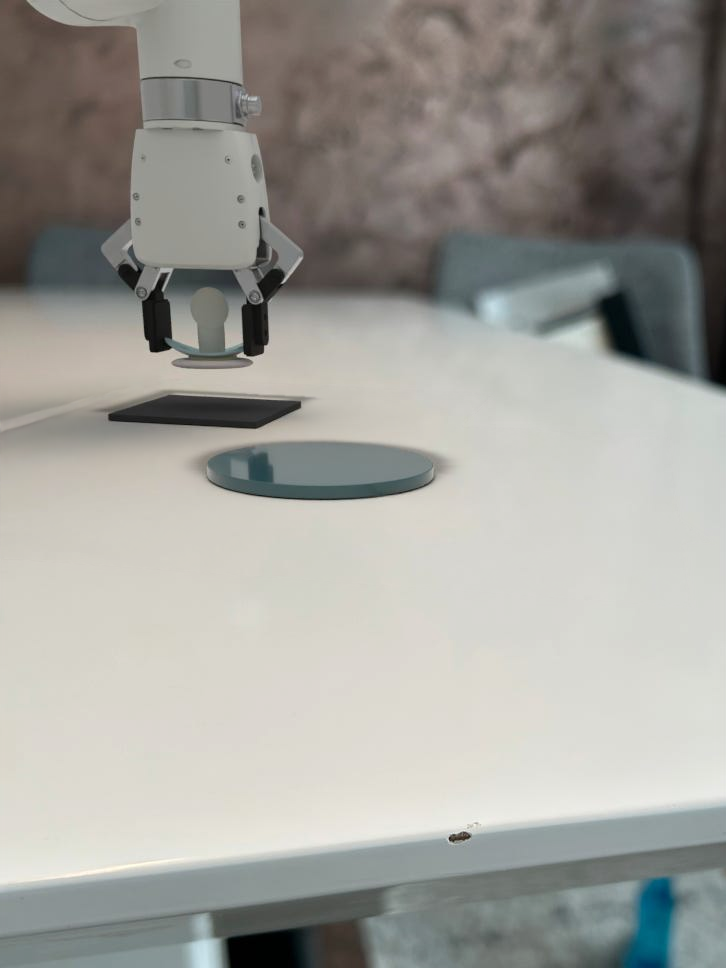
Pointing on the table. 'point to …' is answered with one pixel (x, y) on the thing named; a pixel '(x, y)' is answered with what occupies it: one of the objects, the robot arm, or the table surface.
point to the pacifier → (209, 335)
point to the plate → (320, 470)
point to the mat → (207, 411)
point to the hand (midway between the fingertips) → (207, 351)
